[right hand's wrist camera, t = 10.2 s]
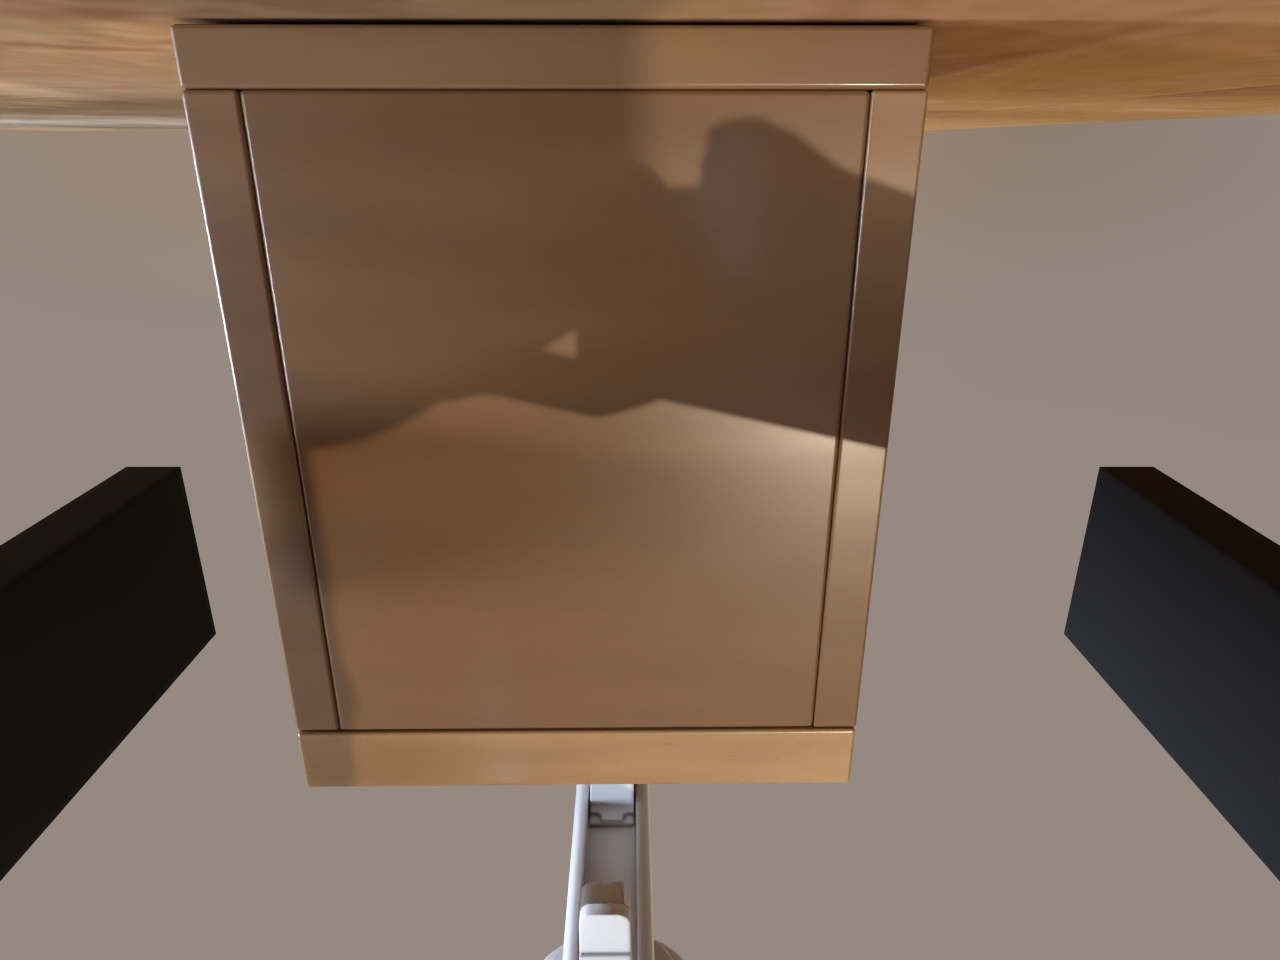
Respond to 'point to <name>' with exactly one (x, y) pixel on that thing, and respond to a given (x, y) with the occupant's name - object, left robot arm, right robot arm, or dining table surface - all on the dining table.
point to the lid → (576, 755)
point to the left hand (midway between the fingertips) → (608, 800)
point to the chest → (563, 357)
